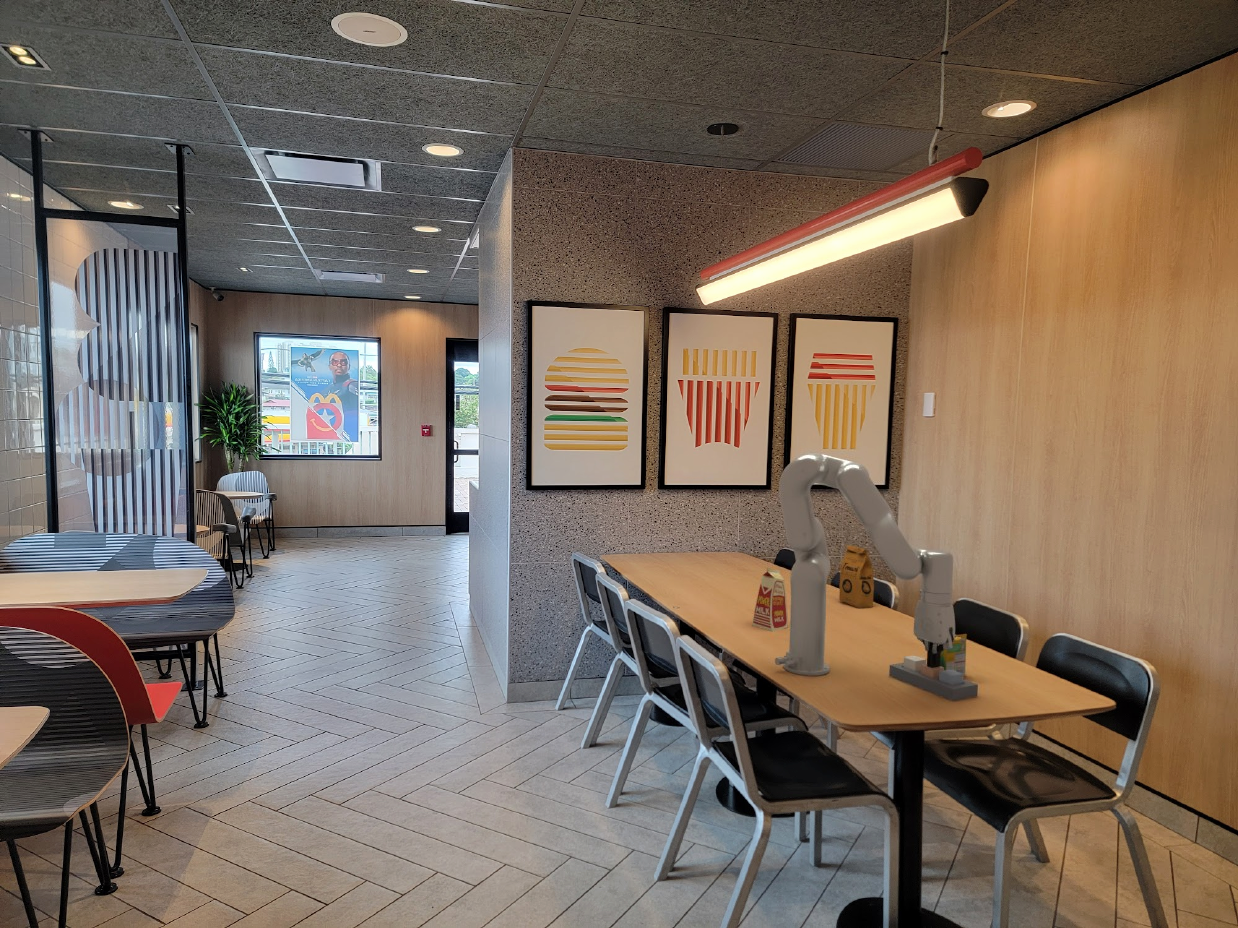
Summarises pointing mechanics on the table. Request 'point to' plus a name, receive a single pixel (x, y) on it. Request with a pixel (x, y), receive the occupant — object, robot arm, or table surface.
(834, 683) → the table surface
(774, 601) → the milk carton
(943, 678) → the slate key
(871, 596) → the coffee package
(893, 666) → the panel
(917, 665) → the ivory key
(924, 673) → the terracotta key
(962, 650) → the crayon box
